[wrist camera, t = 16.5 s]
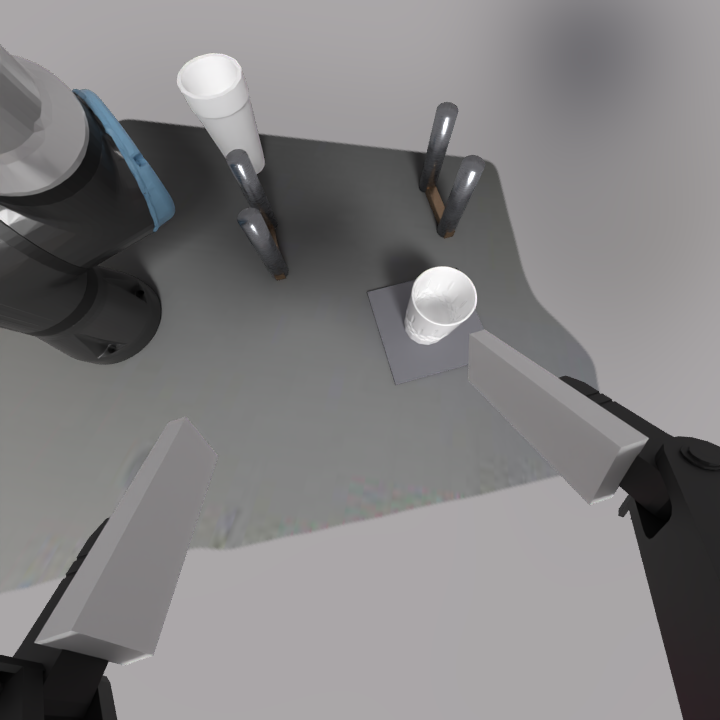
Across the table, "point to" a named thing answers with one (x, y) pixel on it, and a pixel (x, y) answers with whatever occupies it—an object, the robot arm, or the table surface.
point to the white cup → (438, 304)
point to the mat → (405, 352)
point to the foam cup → (222, 104)
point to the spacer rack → (263, 222)
